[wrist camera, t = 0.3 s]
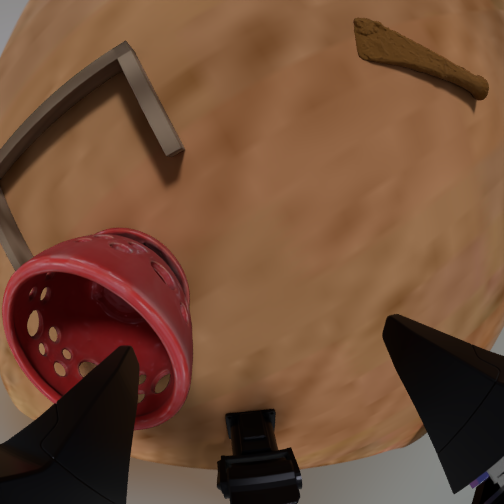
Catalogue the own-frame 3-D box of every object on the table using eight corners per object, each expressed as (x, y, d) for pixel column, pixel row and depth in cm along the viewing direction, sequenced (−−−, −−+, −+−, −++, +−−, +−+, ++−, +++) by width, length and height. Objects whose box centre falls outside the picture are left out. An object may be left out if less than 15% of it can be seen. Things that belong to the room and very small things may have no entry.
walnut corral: (185, 149, 20) (181, 147, 18) (28, 262, 21) (15, 271, 18) (134, 51, 16) (125, 40, 14) (-10, 179, 17) (-24, 182, 15)
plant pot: (220, 320, 25) (226, 421, 14) (109, 348, 25) (74, 433, 14) (169, 188, 21) (118, 219, 10) (52, 239, 21) (-28, 294, 9)
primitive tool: (356, 59, 19) (374, 48, 16) (349, 16, 17) (365, 2, 14) (474, 103, 21) (493, 102, 18) (468, 67, 19) (486, 64, 16)
